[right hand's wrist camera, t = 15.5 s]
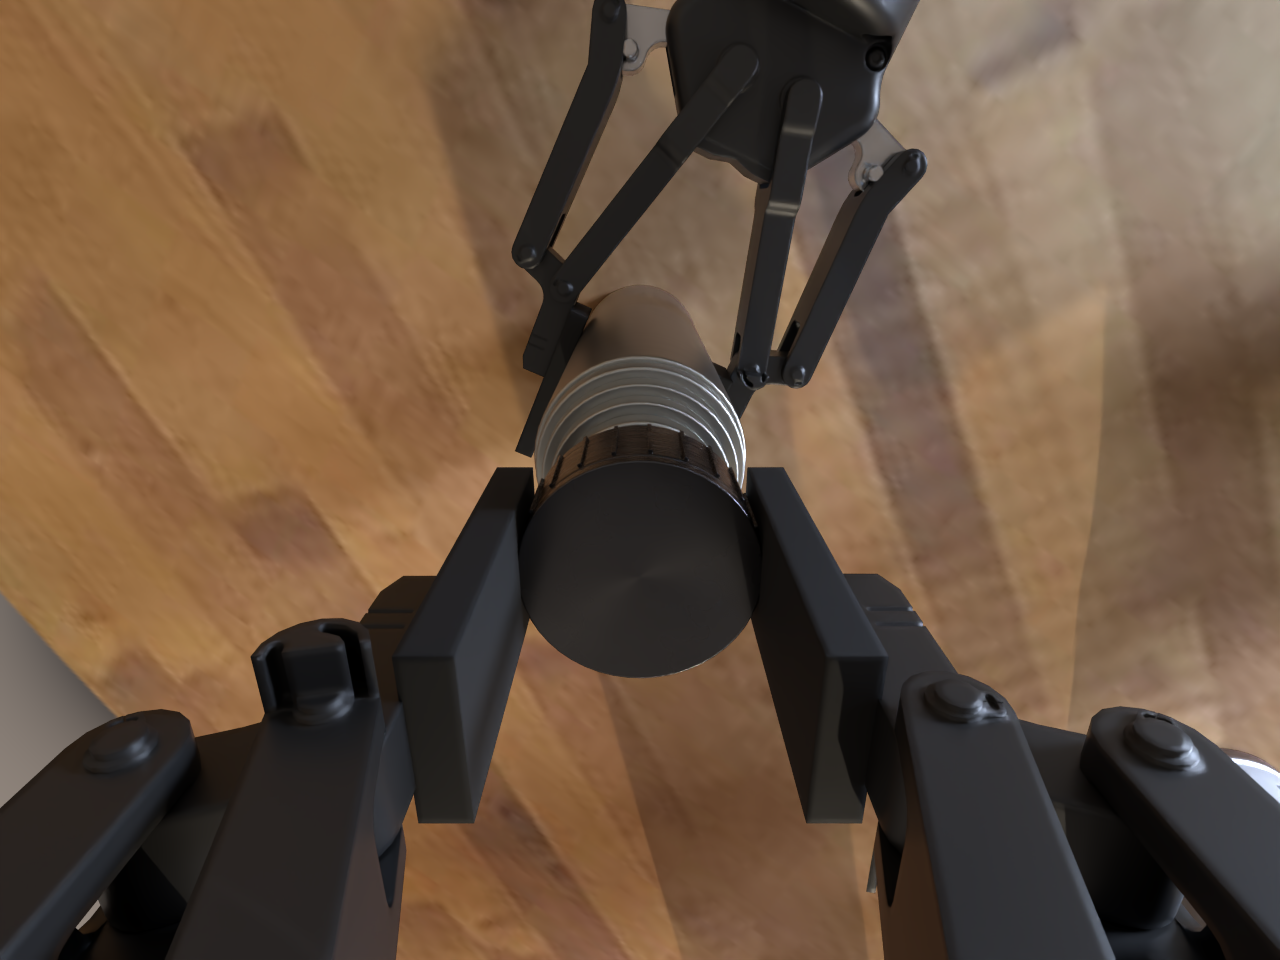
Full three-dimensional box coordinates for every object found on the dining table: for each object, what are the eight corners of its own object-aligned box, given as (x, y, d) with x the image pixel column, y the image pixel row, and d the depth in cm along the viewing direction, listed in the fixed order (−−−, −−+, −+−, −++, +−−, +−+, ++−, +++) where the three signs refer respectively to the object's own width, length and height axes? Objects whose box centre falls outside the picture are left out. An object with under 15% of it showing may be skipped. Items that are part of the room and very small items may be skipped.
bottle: (719, 337, 35) (854, 554, 13) (644, 417, 37) (652, 734, 15) (634, 259, 34) (624, 354, 12) (561, 347, 35) (429, 578, 13)
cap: (785, 466, 14) (810, 510, 12) (697, 644, 16) (706, 709, 14) (572, 388, 14) (561, 419, 12) (504, 581, 15) (483, 639, 13)
